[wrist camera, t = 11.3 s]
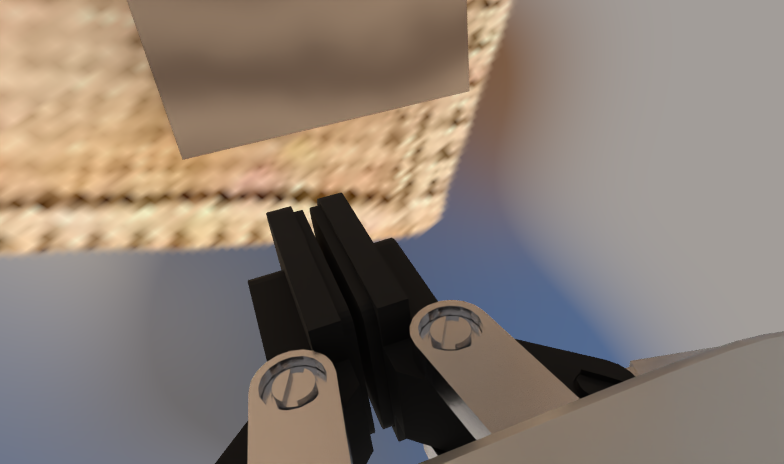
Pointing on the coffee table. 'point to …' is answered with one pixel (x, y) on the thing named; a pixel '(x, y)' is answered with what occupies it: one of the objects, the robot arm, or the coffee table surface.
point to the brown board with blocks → (295, 63)
